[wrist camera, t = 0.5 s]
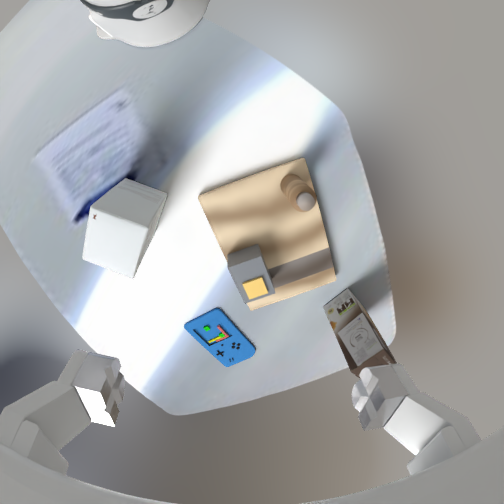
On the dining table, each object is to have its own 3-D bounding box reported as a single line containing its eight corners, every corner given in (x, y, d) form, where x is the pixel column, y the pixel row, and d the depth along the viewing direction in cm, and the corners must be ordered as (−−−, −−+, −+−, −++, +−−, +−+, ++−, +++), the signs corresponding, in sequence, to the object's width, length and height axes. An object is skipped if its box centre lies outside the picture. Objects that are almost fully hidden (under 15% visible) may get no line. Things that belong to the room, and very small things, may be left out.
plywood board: (198, 195, 40) (197, 198, 39) (302, 157, 38) (305, 158, 37) (250, 306, 50) (250, 310, 49) (334, 276, 49) (336, 280, 48)
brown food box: (321, 307, 52) (348, 371, 38) (348, 286, 50) (383, 347, 36) (343, 329, 56) (370, 388, 41) (368, 311, 54) (401, 368, 40)
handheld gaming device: (226, 368, 57) (182, 327, 50) (226, 364, 58) (182, 323, 51) (259, 354, 56) (218, 309, 49) (259, 350, 57) (218, 305, 50)
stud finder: (227, 254, 43) (227, 269, 39) (257, 243, 43) (261, 257, 39) (243, 288, 47) (245, 305, 43) (271, 278, 46) (276, 294, 42)
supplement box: (113, 219, 40) (79, 259, 29) (125, 176, 37) (89, 204, 26) (154, 236, 42) (133, 281, 31) (170, 193, 39) (149, 227, 28)
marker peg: (277, 178, 38) (289, 194, 31) (298, 171, 38) (315, 185, 31) (284, 198, 40) (297, 219, 33) (304, 191, 40) (322, 210, 32)
